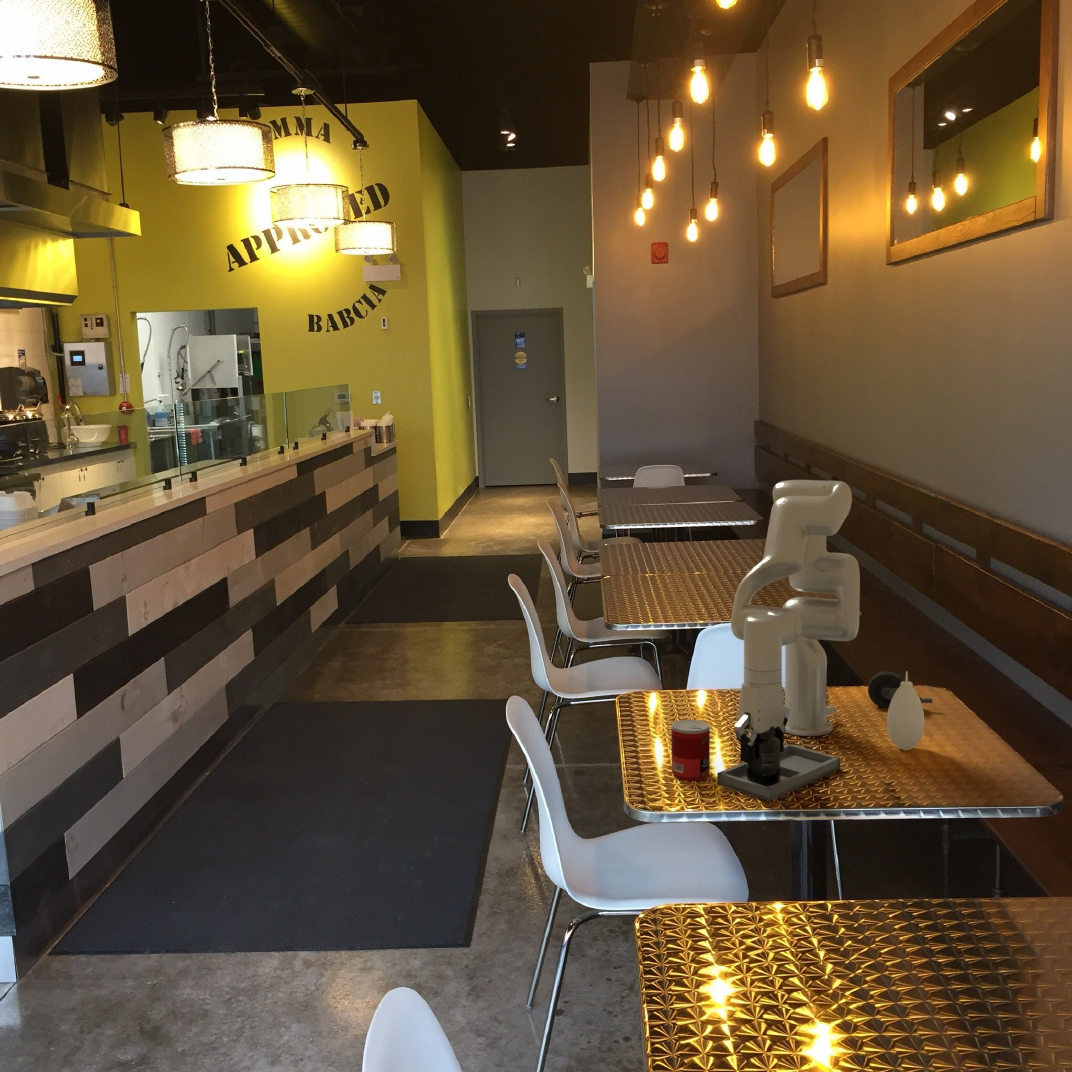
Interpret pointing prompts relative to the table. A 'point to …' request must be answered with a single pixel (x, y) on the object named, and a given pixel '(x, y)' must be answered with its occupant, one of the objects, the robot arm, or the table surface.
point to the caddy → (782, 773)
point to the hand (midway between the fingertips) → (762, 756)
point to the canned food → (690, 750)
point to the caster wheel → (886, 689)
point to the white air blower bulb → (905, 717)
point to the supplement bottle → (765, 759)
